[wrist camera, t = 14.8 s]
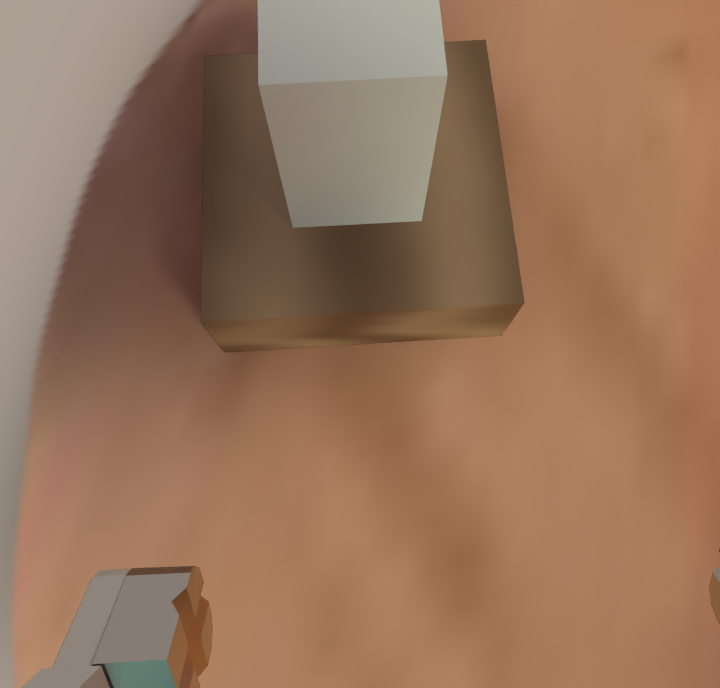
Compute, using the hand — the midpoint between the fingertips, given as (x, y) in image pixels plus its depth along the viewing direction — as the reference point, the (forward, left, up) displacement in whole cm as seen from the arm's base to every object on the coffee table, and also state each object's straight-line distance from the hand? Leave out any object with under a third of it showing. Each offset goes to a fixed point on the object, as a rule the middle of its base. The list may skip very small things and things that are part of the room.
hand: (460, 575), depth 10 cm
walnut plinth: (+1, -15, -15) cm, 21 cm away
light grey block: (+1, -15, -11) cm, 18 cm away
